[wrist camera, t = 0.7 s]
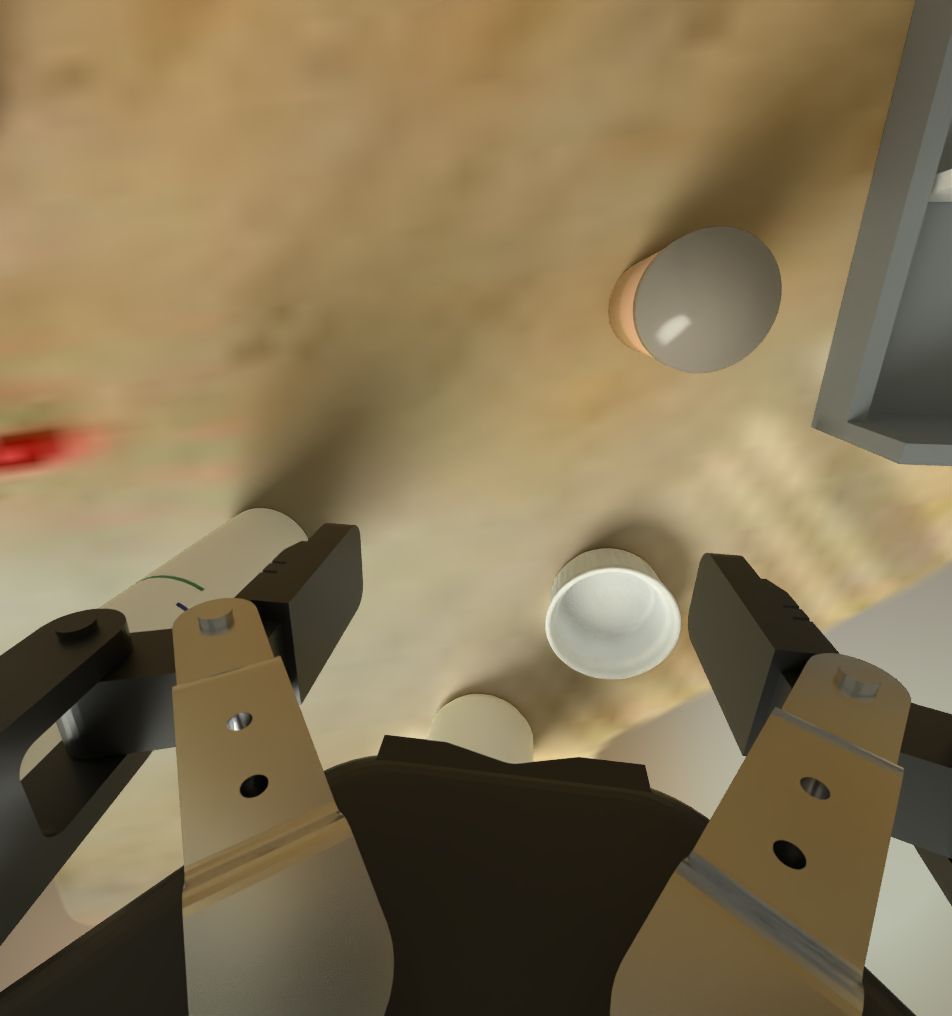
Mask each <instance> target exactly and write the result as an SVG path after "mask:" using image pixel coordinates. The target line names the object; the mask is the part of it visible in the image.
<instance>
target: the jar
mask: <svg viewBox="0 0 952 1016" xmlns="http://www.w3.org/2000/svg"><path fill="white" fill-rule="evenodd" d="M781 288H782V284H781V276H780V272H779V268H778V265H777V262H776V260H775V258H774V256H773V255H772V253H771V251H770V250H769V249H768V247H767V246H766V245H765V244H764V243H763V242H762V241H761V240H759V239H758V238H757V237H756V236H754V235H752V234H750V233H749V232H746V231H744V230H741V229H738V228H734V227H726V226H715V227H708V228H703V229H699V230H696V231H694V232H691V233H689V234H687V235H685V236H683V237H681V238H679V239H677V240H675V241H674V242H672V243H671V244H669V245H668V246H666V247H665V248H664V249H663V250H661V251H659V252H657V253H655V254H653V255H651V256H649V257H647V258H645V259H644V260H642V261H640V262H638V263H636V264H634V265H633V266H631V267H630V268H629V269H628V270H626V271H625V272H624V273H623V275H622V276H621V277H620V278H619V280H618V281H617V283H616V284H615V286H614V288H613V291H612V293H611V296H610V300H609V310H608V313H609V320H610V324H611V327H612V330H613V331H614V333H615V335H616V336H617V338H618V339H619V340H620V341H621V342H622V343H623V344H624V345H626V346H627V347H629V348H631V349H633V350H635V351H638V352H640V353H643V354H645V355H648V356H651V357H653V358H655V359H656V360H658V361H659V362H661V363H663V364H665V365H667V366H669V367H671V368H674V369H677V370H679V371H683V372H688V373H708V372H714V371H718V370H721V369H724V368H727V367H729V366H731V365H733V364H735V363H737V362H739V361H740V360H742V359H743V358H745V357H746V356H747V355H749V354H750V353H751V352H752V351H753V350H754V349H755V348H756V347H757V346H758V345H759V344H760V343H761V342H762V341H763V339H764V338H765V336H766V335H767V334H768V332H769V330H770V329H771V327H772V325H773V323H774V321H775V318H776V316H777V313H778V310H779V306H780V301H781Z"/></svg>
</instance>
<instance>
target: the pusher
mask: <svg viewBox="0 0 952 1016" xmlns="http://www.w3.org/2000/svg"><path fill="white" fill-rule="evenodd" d="M928 202H952V169H950V170H947V171H944V172H941V173H938V174H936V176H935V179H934V183H933V186H932V190H931V194H930V197H929V201H928Z"/></svg>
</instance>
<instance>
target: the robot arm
mask: <svg viewBox="0 0 952 1016" xmlns="http://www.w3.org/2000/svg"><path fill="white" fill-rule="evenodd" d="M362 591H363V576H362V559H361V541H360V532H359V529H358V527H357V526H356V525H346V524H333V523H325V524H323V525H322V526H321V527H320V528H319V530H318V531H317V532H316V533H315V534H314V535H313V536H312V537H311V538H310V539H309V540H308V541H300V542H298V543H296V544H294V545H292V546H290V547H288V548H286V549H284V550H283V551H282V552H281V553H280V554H279V555H278V556H277V557H275V558H274V559H273V560H272V563H269V564H268V565H267V566H266V567H265V568H264V569H263V571H262V573H261V572H260V573H259V574H258V575H257V576H256V577H255V578H254V579H253V580H252V581H251V582H250V583H249V584H248V585H247V586H245V587H244V588H243V589H242V590H241V591H240V592H239V593H238V594H237V595H236V596H235V597H234V598H221V599H215V600H211V601H207V602H204V603H201V604H198V605H196V606H194V607H191V608H190V609H188V610H186V611H185V612H183V613H182V614H181V615H180V616H179V617H178V618H177V619H176V620H175V621H174V624H173V627H172V628H171V629H162V630H152V631H143V632H133V633H130V632H129V628H128V624H127V620H126V617H125V615H124V614H123V613H122V612H120V611H118V610H114V609H91V610H84V611H80V612H76V613H72V614H69V615H66V616H63V617H60V618H58V619H56V620H53V621H51V622H49V623H48V624H46V625H44V626H42V627H41V628H39V629H38V630H36V631H35V632H34V633H32V634H31V635H29V636H28V637H26V638H25V639H24V640H22V641H21V642H19V643H18V644H16V645H15V646H14V647H12V648H11V649H9V650H8V651H6V652H5V653H4V654H2V655H1V656H0V946H1V944H2V943H3V942H4V941H5V939H6V938H7V936H8V935H9V934H10V933H11V932H12V930H13V929H14V928H15V926H16V925H17V924H18V923H19V921H20V920H21V919H22V918H23V916H24V915H25V914H26V913H27V911H28V910H29V909H30V907H31V906H32V905H33V904H34V902H35V901H36V900H37V898H38V897H39V896H40V895H41V893H42V892H43V891H44V889H45V888H46V887H47V886H48V884H49V883H50V882H51V881H52V879H53V878H54V877H55V875H56V874H57V873H58V872H59V870H60V869H61V868H62V867H63V865H64V864H65V863H66V861H67V860H68V859H69V858H70V856H71V855H72V854H73V852H74V851H75V850H76V849H77V847H78V846H79V845H80V844H81V842H82V841H83V840H84V838H85V837H86V836H87V835H88V833H89V832H90V831H91V830H92V828H93V827H94V826H95V824H96V823H97V822H98V821H99V819H100V818H101V817H102V815H103V814H104V813H105V812H106V810H107V809H108V808H109V807H110V805H111V804H112V803H113V801H114V800H115V799H116V798H117V796H118V795H119V794H120V792H121V791H122V790H123V789H124V787H125V786H126V785H127V784H128V782H129V781H130V780H131V778H132V777H133V776H134V775H135V773H136V772H137V771H138V769H139V768H140V767H141V766H142V764H143V763H144V762H145V761H146V759H147V758H148V757H149V755H150V754H151V753H152V751H153V750H158V749H164V748H171V747H176V756H177V770H178V785H179V799H180V814H181V828H182V843H183V857H184V866H182V867H181V868H179V869H178V870H176V871H175V872H173V873H172V874H171V875H169V876H168V877H166V878H165V879H163V880H162V881H160V882H159V883H158V884H156V885H155V886H153V887H152V888H150V889H149V890H147V891H146V892H144V893H143V894H142V895H140V896H139V897H137V898H136V899H134V900H133V901H131V902H130V903H129V904H127V905H126V906H124V907H123V908H121V909H120V910H118V911H117V912H116V913H114V914H113V915H111V916H110V917H108V918H107V919H105V920H104V921H103V922H101V923H100V924H98V925H97V926H95V927H94V928H92V929H91V930H90V931H88V932H87V933H85V934H84V935H82V936H81V937H79V938H78V939H77V940H75V941H74V942H72V943H71V944H69V945H68V946H66V947H65V948H64V949H62V950H61V951H59V952H58V953H56V954H55V955H53V956H52V957H51V958H49V959H48V960H46V961H45V962H43V963H42V964H40V965H39V966H38V967H36V968H35V969H33V970H32V971H30V972H29V973H27V974H26V975H24V976H23V977H22V978H20V979H19V980H17V981H16V982H14V983H13V984H11V985H10V986H9V987H7V988H6V989H4V990H3V991H1V992H0V1016H916V1015H915V1014H914V1013H913V1012H912V1011H911V1010H910V1009H909V1008H908V1007H907V1006H906V1005H904V1004H903V1003H902V1002H901V1001H900V1000H899V999H898V998H897V997H896V996H895V995H894V994H893V993H892V992H891V991H890V990H889V989H888V988H887V987H886V986H885V985H884V984H883V983H882V982H881V981H879V980H878V979H877V978H876V977H875V976H874V975H873V974H872V973H871V972H870V971H869V970H868V969H867V968H866V967H865V966H864V965H865V960H866V955H867V950H868V946H869V941H870V936H871V931H872V926H873V921H874V916H875V911H876V906H877V901H878V896H879V892H880V886H881V882H882V877H883V872H884V867H885V862H886V858H887V852H888V848H889V842H890V838H891V837H894V838H896V839H899V840H902V841H905V842H907V843H910V844H912V845H914V846H915V848H916V850H917V852H918V853H919V855H920V856H921V858H922V860H923V861H924V863H925V864H926V866H927V867H928V869H929V871H930V872H931V874H932V875H933V877H934V879H935V880H936V882H937V883H938V885H939V887H940V888H941V890H942V891H943V893H944V895H945V896H946V898H947V899H948V901H949V902H950V904H951V906H952V714H948V713H945V712H941V711H938V710H934V709H931V708H927V707H924V706H920V705H917V704H914V703H911V698H910V695H909V693H908V691H907V690H906V688H905V687H904V686H903V685H902V684H901V683H900V682H899V681H898V680H897V679H896V678H894V677H893V676H891V675H890V674H889V673H887V672H885V671H884V670H882V669H880V668H878V667H876V666H874V665H872V664H870V663H868V662H865V661H863V660H860V659H857V658H854V657H850V656H846V655H841V654H839V652H838V651H837V650H836V649H835V648H834V647H833V645H832V644H831V643H830V642H829V641H828V640H827V638H826V637H825V636H824V635H823V634H822V633H821V631H820V630H819V629H818V628H817V627H816V626H815V624H814V623H813V622H810V621H809V617H808V616H807V615H806V614H805V613H804V612H803V611H802V609H799V606H798V605H797V604H796V602H795V601H794V600H793V599H792V598H791V597H790V595H789V594H788V593H787V592H786V591H784V590H783V589H781V588H779V587H778V586H776V585H775V584H773V583H772V582H770V581H768V580H767V579H761V578H760V577H759V576H758V575H757V573H756V572H755V571H754V570H753V568H752V567H751V566H750V565H749V564H748V562H747V561H746V560H745V559H744V557H742V556H738V555H725V554H712V553H705V554H704V555H703V557H702V559H701V561H700V565H699V569H698V573H697V578H696V582H695V587H694V592H693V596H692V601H691V605H690V610H689V615H688V631H689V637H690V640H691V642H692V645H693V647H694V649H695V651H696V653H697V656H698V658H699V660H700V662H701V665H702V667H703V669H704V671H705V673H706V676H707V678H708V680H709V682H710V684H711V687H712V689H713V691H714V693H715V695H716V698H717V700H718V702H719V704H720V706H721V709H722V711H723V713H724V715H725V718H726V720H727V722H728V724H729V727H730V729H731V731H732V733H733V735H734V738H735V740H736V742H737V744H738V746H739V749H740V751H741V753H742V755H743V756H746V758H745V760H744V762H743V763H742V765H741V767H740V769H739V770H738V772H737V774H736V776H735V777H734V779H733V781H732V783H731V784H730V786H729V788H728V790H727V791H726V793H725V795H724V797H723V798H722V800H721V802H720V804H719V805H718V807H717V809H716V810H715V812H714V814H713V816H712V817H711V819H710V820H709V819H708V818H707V817H705V816H704V815H702V814H701V813H699V812H697V811H696V810H694V809H693V808H692V807H690V806H688V805H686V804H685V803H683V802H681V801H679V800H677V799H676V798H673V797H671V796H669V795H667V794H665V793H662V792H660V791H657V790H654V789H652V788H650V784H649V780H648V776H647V771H646V768H645V765H641V764H633V763H624V762H615V761H607V760H598V759H589V758H581V757H577V758H567V759H557V760H548V761H538V762H528V763H519V764H512V763H506V762H503V761H500V760H497V759H494V758H491V757H488V756H486V755H483V754H480V753H477V752H474V751H471V750H468V749H465V748H462V747H459V746H457V745H454V744H451V743H448V742H442V741H433V740H425V739H416V738H407V737H399V736H390V735H385V736H384V739H383V742H382V744H381V747H380V750H379V753H378V755H377V756H369V757H364V758H359V759H355V760H351V761H348V762H345V763H342V764H339V765H336V766H334V767H332V768H329V769H327V770H325V771H323V769H322V766H321V763H320V761H319V758H318V755H317V752H316V750H315V747H314V744H313V742H312V739H311V736H310V734H309V731H308V728H307V726H306V723H305V720H304V718H303V715H302V712H301V709H300V707H299V705H301V704H302V703H303V701H304V699H305V697H306V696H307V694H308V692H309V691H310V689H311V687H312V686H313V684H314V682H315V681H316V679H317V677H318V675H319V674H320V672H321V670H322V669H323V667H324V665H325V664H326V662H327V660H328V658H329V657H330V655H331V653H332V652H333V650H334V648H335V647H336V645H337V643H338V642H339V640H340V638H341V636H342V635H343V633H344V631H345V630H346V628H347V626H348V625H349V623H350V621H351V620H352V618H353V616H354V614H355V613H356V611H357V609H358V607H359V605H360V602H361V598H362ZM55 722H56V724H57V727H58V730H59V733H60V735H61V738H62V740H61V741H60V742H59V743H58V744H57V745H56V746H55V747H54V748H53V749H52V750H51V751H50V752H49V753H48V754H47V755H46V756H45V757H44V758H43V759H42V760H41V761H40V762H39V763H38V764H37V765H36V766H35V767H34V768H33V769H32V770H31V771H30V772H29V773H28V774H27V775H26V776H25V777H24V778H23V779H22V780H21V781H20V775H19V773H20V767H21V763H22V760H23V758H24V756H25V754H26V752H27V751H28V749H29V748H30V747H31V745H32V744H33V743H34V742H35V741H36V740H37V739H38V738H39V737H40V736H41V735H42V734H44V733H45V732H46V731H47V730H48V729H49V728H50V727H51V726H52V725H53V724H54V723H55Z"/></svg>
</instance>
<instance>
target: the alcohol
mask: <svg viewBox="0 0 952 1016" xmlns="http://www.w3.org/2000/svg"><path fill="white" fill-rule="evenodd" d="M427 740H433V741H442V742H448V743H451V744H454V745H457V746H459V747H462V748H465V749H468V750H471V751H474V752H477V753H480V754H483V755H486V756H488V757H491V758H494V759H497V760H500V761H503V762H506V763H512V764H519V763H528V762H533V734H532V731H531V728H530V726H529V724H528V722H527V721H526V719H525V718H524V717H523V716H522V715H521V713H520V712H519V711H518V710H517V709H516V708H515V707H514V706H512V705H511V704H510V703H508V702H507V701H505V700H503V699H501V698H498V697H495V696H492V695H487V694H469V695H464V696H461V697H458V698H456V699H454V700H453V701H451V702H449V703H447V704H446V705H444V706H443V707H442V708H441V709H440V710H439V711H438V712H437V713H436V715H435V716H434V717H433V720H432V722H431V725H430V729H429V733H428V736H427Z"/></svg>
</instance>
